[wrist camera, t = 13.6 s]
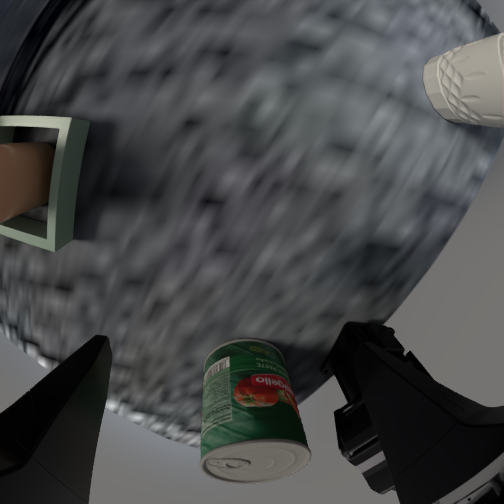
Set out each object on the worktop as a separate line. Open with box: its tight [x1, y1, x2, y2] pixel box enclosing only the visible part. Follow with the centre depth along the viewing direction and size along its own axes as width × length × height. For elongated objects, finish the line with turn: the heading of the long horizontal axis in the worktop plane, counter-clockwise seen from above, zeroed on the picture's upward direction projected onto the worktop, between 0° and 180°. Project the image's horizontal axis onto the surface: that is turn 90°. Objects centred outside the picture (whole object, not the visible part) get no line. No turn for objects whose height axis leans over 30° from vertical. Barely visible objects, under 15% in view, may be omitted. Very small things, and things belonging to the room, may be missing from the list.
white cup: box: [423, 33, 504, 128], centre depth 12 cm, size 8×8×10 cm
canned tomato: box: [200, 338, 311, 484], centre depth 20 cm, size 8×8×11 cm
